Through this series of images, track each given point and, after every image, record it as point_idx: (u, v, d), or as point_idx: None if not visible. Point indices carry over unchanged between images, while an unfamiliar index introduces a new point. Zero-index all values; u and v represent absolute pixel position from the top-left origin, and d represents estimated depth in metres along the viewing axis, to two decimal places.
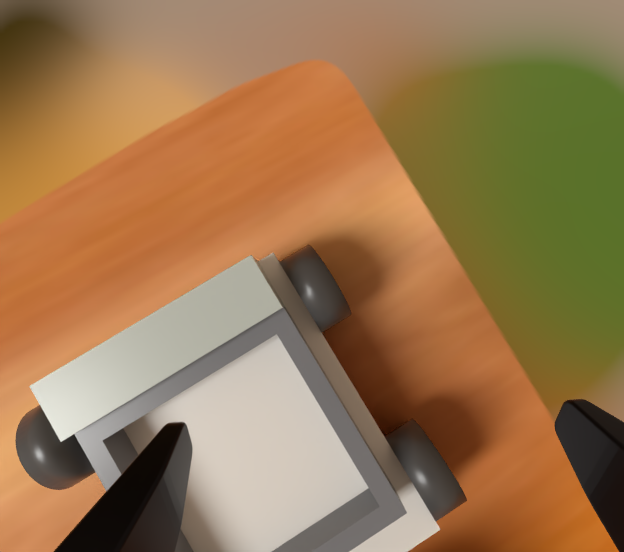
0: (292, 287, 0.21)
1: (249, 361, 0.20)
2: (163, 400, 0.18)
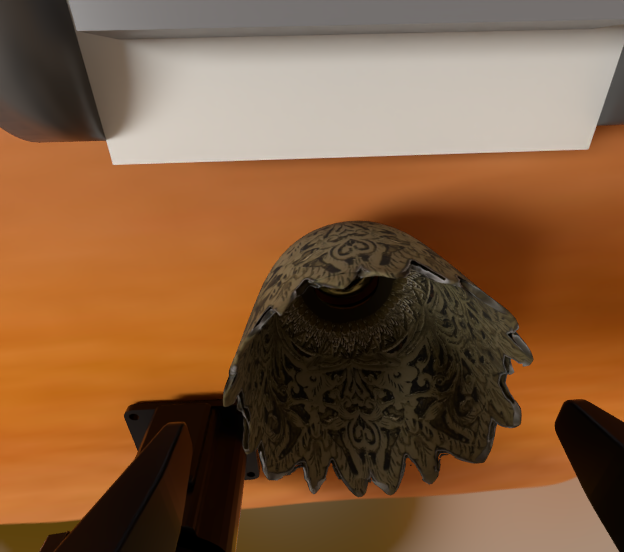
0: None
1: None
2: None
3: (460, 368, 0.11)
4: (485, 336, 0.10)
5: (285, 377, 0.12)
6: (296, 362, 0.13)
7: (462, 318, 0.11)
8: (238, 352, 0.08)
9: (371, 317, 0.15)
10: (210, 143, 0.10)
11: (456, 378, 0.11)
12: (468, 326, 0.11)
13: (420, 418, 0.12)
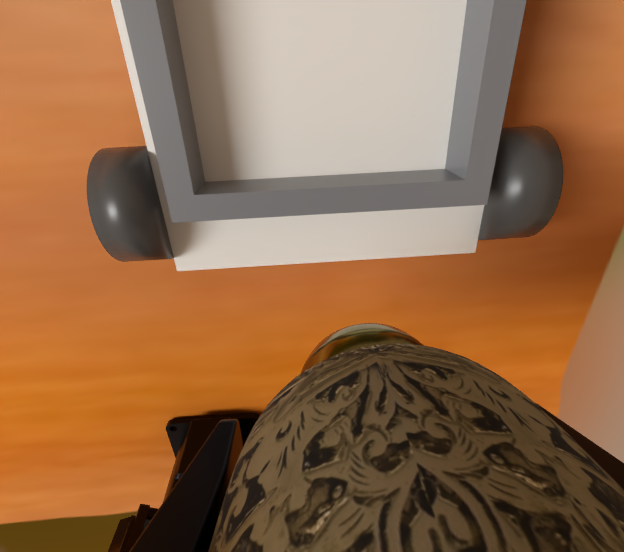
0: None
1: None
2: None
3: None
4: None
5: None
6: None
7: None
8: None
9: None
10: (237, 257, 0.17)
11: None
12: None
13: None
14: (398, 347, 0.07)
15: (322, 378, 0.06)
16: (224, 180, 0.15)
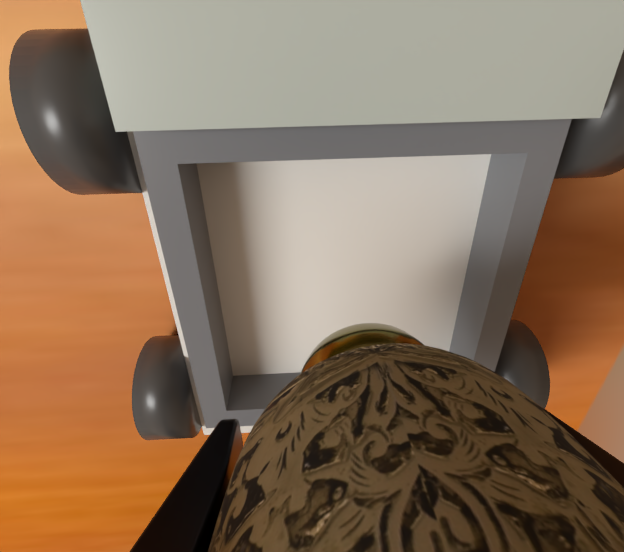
0: None
1: (424, 162, 0.12)
2: (303, 155, 0.10)
3: None
4: None
5: None
6: None
7: None
8: None
9: None
10: None
11: None
12: None
13: None
14: (399, 347, 0.07)
15: (322, 378, 0.06)
16: (250, 375, 0.17)
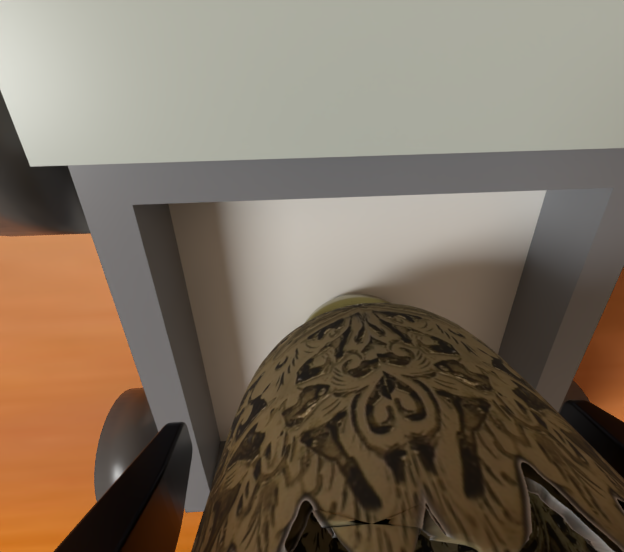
0: None
1: (462, 192, 0.10)
2: (306, 193, 0.07)
3: (545, 538, 0.07)
4: None
5: None
6: None
7: None
8: None
9: None
10: None
11: (537, 551, 0.07)
12: None
13: None
14: (378, 303, 0.08)
15: (313, 326, 0.07)
16: None
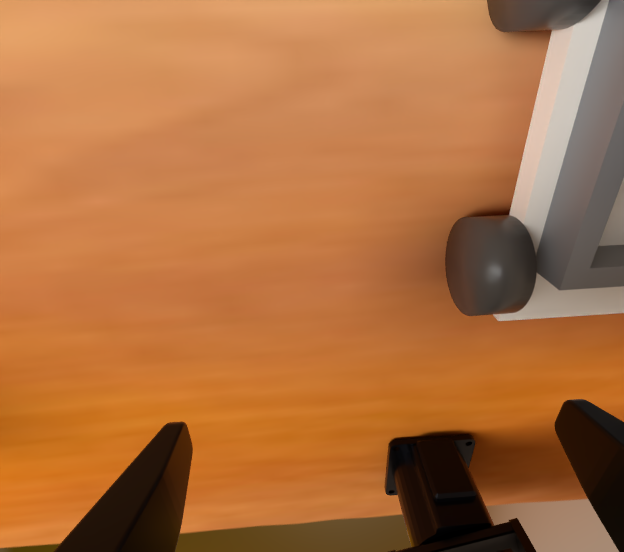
0: None
1: None
2: None
3: None
4: None
5: None
6: None
7: None
8: None
9: None
10: (555, 309, 0.19)
11: None
12: None
13: None
14: None
15: None
16: None
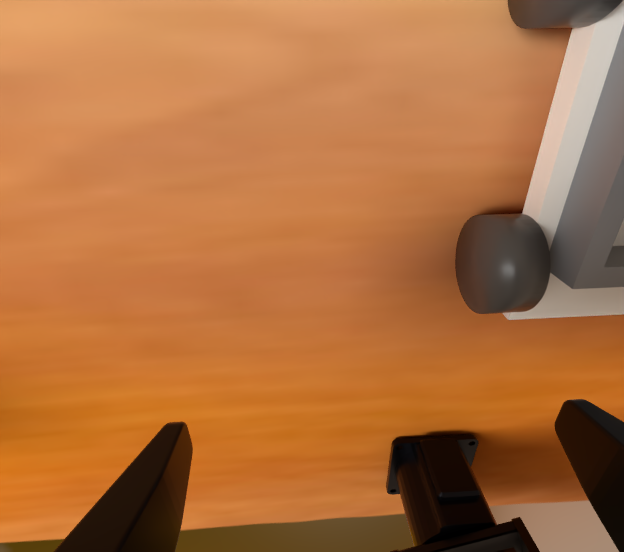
0: None
1: None
2: None
3: None
4: None
5: None
6: None
7: None
8: None
9: None
10: (565, 309, 0.19)
11: None
12: None
13: None
14: None
15: None
16: None
